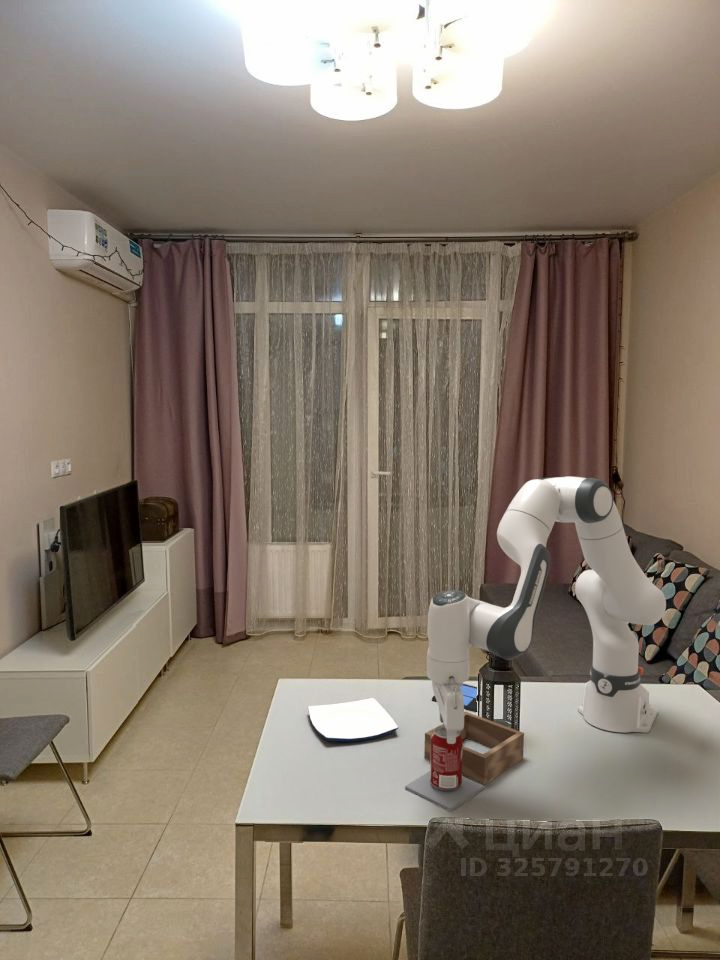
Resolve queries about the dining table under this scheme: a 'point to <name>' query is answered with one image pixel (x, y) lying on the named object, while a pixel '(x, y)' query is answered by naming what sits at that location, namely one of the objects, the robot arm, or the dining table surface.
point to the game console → (467, 697)
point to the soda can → (445, 760)
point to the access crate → (491, 734)
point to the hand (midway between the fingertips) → (447, 731)
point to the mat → (441, 797)
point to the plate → (351, 720)
